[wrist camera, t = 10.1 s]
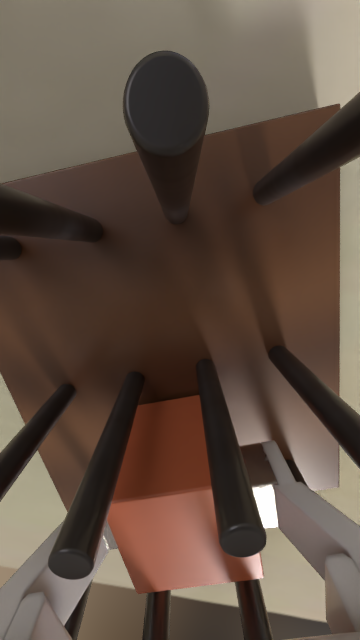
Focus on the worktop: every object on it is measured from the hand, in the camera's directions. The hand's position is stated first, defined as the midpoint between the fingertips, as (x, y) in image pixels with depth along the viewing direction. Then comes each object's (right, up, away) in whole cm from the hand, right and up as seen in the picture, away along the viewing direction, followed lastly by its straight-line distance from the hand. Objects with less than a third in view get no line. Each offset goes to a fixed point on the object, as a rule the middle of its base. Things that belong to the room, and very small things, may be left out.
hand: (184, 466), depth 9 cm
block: (0, 0, +2) cm, 2 cm away
